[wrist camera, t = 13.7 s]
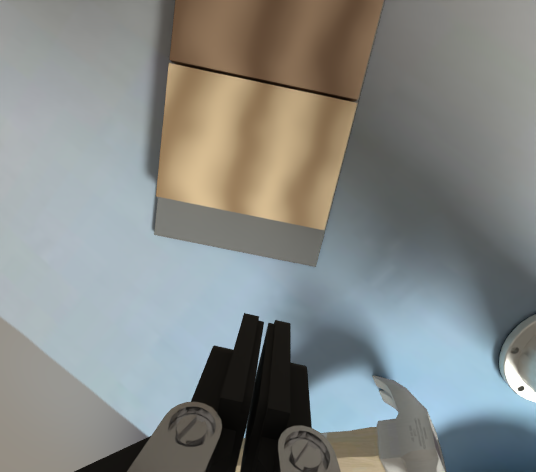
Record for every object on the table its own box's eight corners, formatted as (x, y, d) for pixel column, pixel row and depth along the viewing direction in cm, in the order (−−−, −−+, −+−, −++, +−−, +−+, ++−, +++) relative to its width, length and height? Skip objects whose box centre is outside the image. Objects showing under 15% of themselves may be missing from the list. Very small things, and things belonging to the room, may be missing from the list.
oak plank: (352, 105, 30) (357, 102, 28) (321, 225, 33) (324, 230, 31) (175, 68, 30) (168, 62, 28) (163, 193, 33) (155, 196, 31)
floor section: (398, -57, 27) (410, -77, 24) (315, 264, 35) (318, 273, 33) (190, -103, 27) (181, -129, 24) (156, 233, 35) (146, 239, 32)
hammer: (174, 551, 35) (474, 564, 24) (152, 523, 34) (457, 524, 23) (225, 423, 49) (428, 395, 38) (211, 401, 48) (416, 366, 37)
